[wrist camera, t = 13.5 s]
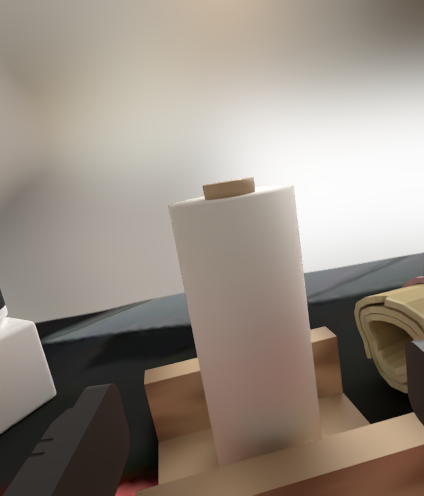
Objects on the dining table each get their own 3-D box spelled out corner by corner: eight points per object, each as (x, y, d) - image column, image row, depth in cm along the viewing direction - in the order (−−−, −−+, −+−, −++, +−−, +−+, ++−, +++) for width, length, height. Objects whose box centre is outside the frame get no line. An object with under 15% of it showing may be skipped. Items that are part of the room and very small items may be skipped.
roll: (298, 415, 21) (267, 172, 17) (347, 494, 15) (315, 168, 12) (212, 438, 20) (164, 190, 17) (232, 529, 15) (167, 194, 12)
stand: (313, 369, 26) (306, 309, 25) (534, 635, 11) (538, 511, 10) (161, 408, 25) (146, 347, 24) (165, 776, 9) (123, 650, 8)
